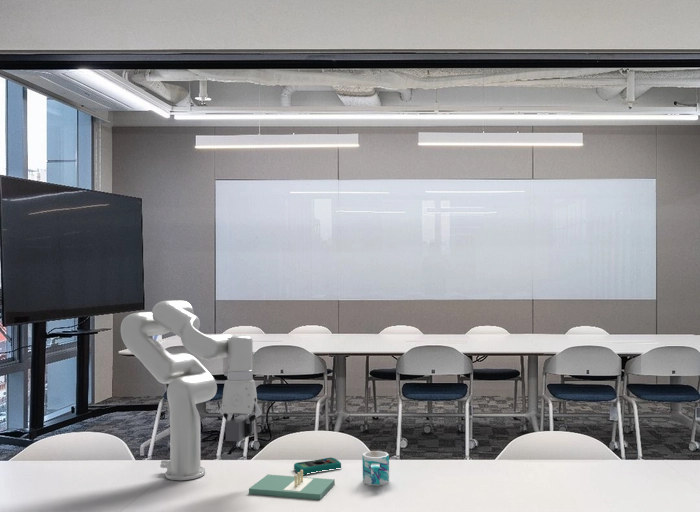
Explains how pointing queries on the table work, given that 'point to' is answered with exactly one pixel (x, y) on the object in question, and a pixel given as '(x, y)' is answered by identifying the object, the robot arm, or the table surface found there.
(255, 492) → the header board
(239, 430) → the block
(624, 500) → the table surface
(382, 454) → the mug
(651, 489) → the table surface
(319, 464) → the digital multimeter
